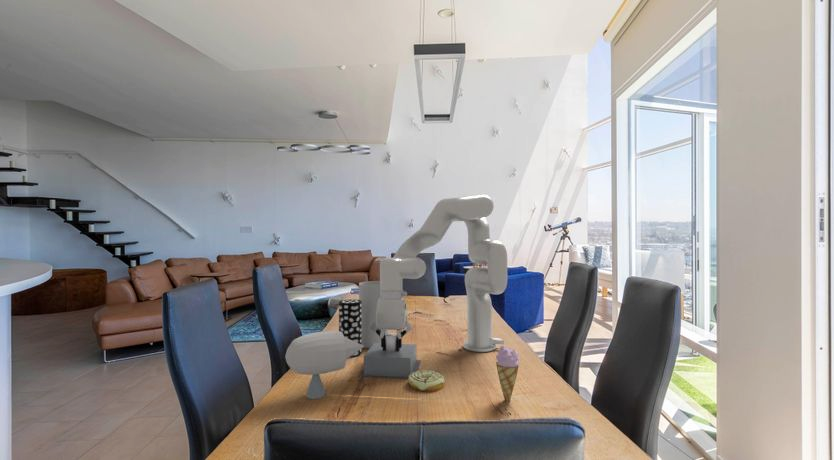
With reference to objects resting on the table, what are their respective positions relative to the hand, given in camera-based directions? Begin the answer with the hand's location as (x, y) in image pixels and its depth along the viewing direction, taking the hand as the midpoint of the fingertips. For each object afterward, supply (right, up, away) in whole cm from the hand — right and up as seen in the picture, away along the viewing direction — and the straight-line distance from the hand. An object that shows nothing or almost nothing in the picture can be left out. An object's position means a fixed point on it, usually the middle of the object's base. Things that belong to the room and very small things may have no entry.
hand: (391, 349), depth 133 cm
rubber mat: (0, -7, 0) cm, 7 cm away
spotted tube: (-16, -7, +15) cm, 23 cm away
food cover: (0, -6, 0) cm, 6 cm away
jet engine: (-18, -7, -20) cm, 28 cm away
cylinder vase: (-9, -7, +28) cm, 30 cm away
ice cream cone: (+33, -7, -24) cm, 42 cm away
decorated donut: (+11, -7, -15) cm, 20 cm away
